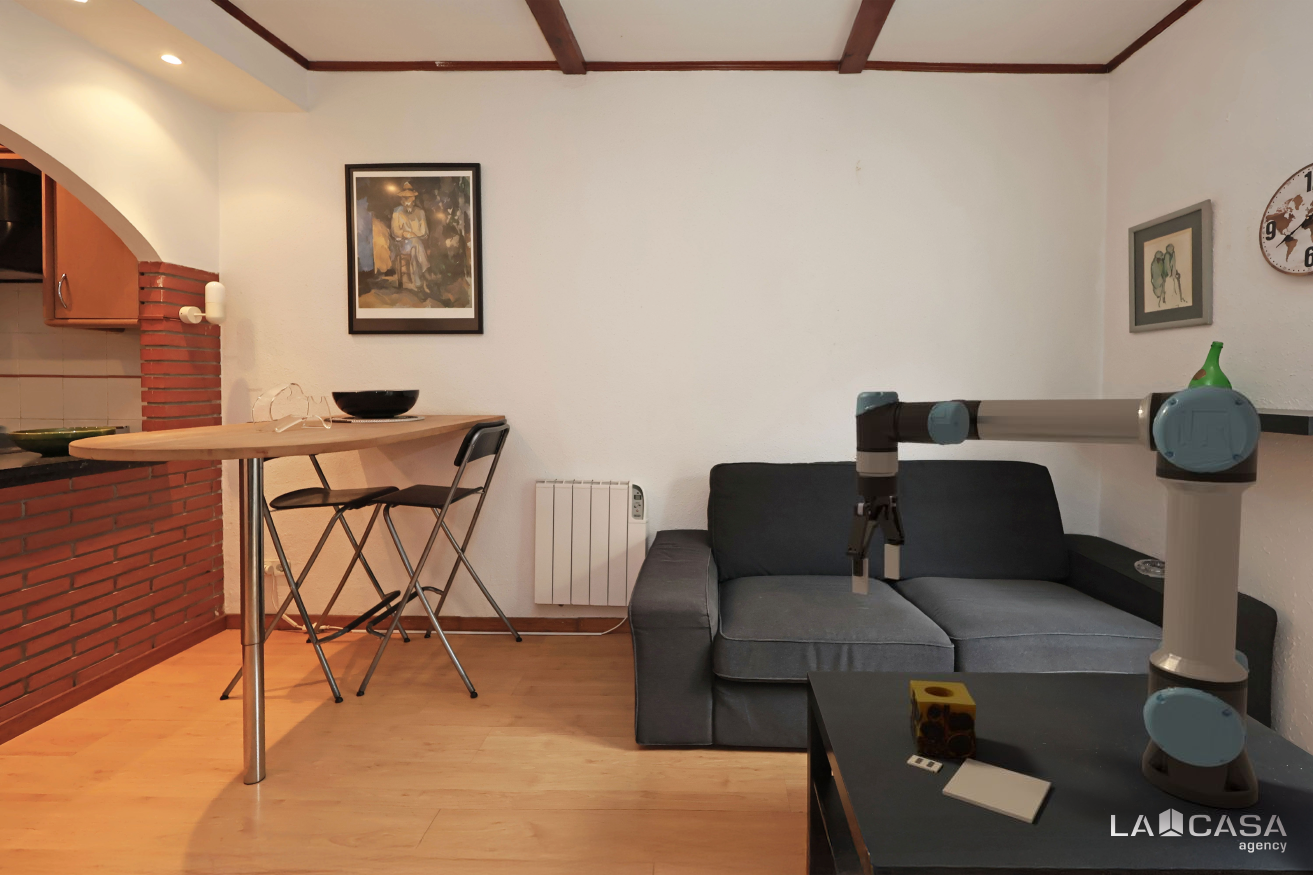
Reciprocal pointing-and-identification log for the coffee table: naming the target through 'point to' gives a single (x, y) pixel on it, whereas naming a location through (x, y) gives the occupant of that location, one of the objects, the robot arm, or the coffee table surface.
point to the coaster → (998, 789)
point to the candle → (943, 719)
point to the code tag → (924, 763)
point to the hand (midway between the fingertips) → (876, 585)
